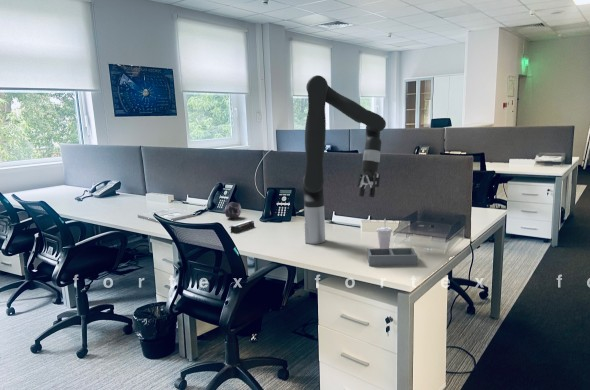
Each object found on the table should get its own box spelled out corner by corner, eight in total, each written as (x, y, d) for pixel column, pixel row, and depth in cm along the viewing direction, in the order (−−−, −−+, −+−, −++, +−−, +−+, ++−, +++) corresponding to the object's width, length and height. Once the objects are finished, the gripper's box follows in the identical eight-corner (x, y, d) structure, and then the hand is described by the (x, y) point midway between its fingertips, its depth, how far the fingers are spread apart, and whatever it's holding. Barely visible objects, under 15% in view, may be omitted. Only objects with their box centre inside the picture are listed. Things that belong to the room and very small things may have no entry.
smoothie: (394, 250, 182) (394, 218, 179) (387, 254, 177) (387, 221, 174) (381, 247, 186) (381, 216, 183) (373, 251, 181) (373, 219, 179)
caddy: (369, 266, 164) (369, 256, 163) (367, 258, 173) (367, 248, 172) (417, 265, 162) (417, 255, 161) (412, 257, 171) (412, 247, 171)
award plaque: (172, 210, 288) (172, 207, 287) (197, 216, 267) (196, 213, 267) (137, 217, 270) (137, 214, 270) (161, 224, 250) (160, 220, 249)
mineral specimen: (235, 220, 248) (234, 204, 246) (221, 219, 253) (220, 203, 252) (245, 217, 256) (244, 201, 255) (231, 215, 262) (230, 200, 260)
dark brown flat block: (220, 233, 223) (219, 226, 222) (252, 223, 243) (252, 216, 242) (240, 237, 214) (239, 229, 214) (272, 226, 234) (271, 219, 233)
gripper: (355, 160, 195) (351, 195, 195) (372, 158, 182) (367, 196, 181) (369, 163, 198) (365, 197, 197) (387, 161, 185) (382, 198, 184)
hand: (366, 196), depth 189 cm, fingers open, 8 cm apart
